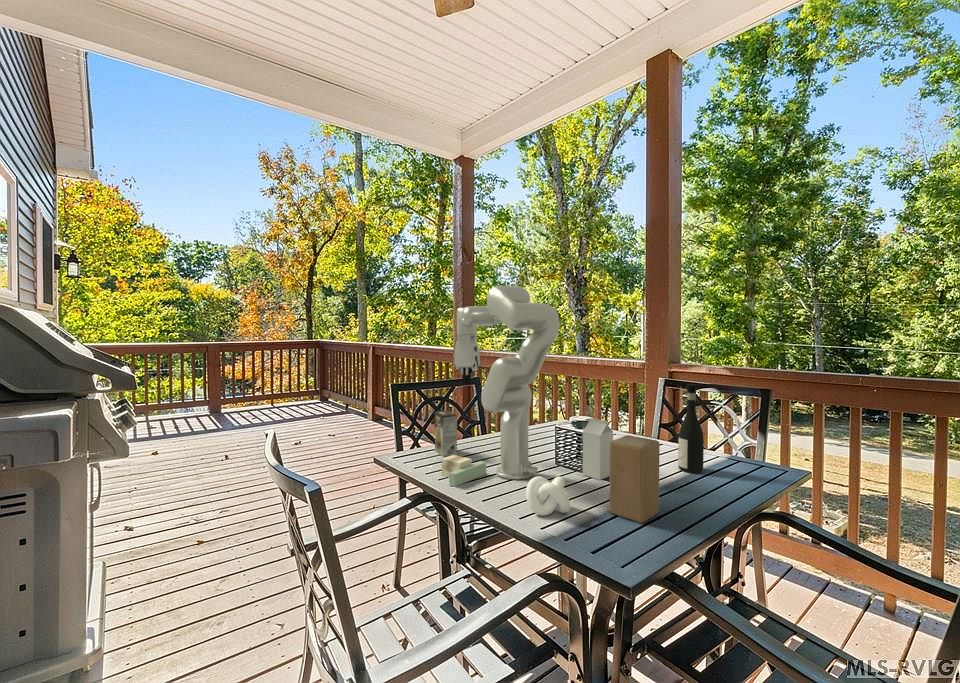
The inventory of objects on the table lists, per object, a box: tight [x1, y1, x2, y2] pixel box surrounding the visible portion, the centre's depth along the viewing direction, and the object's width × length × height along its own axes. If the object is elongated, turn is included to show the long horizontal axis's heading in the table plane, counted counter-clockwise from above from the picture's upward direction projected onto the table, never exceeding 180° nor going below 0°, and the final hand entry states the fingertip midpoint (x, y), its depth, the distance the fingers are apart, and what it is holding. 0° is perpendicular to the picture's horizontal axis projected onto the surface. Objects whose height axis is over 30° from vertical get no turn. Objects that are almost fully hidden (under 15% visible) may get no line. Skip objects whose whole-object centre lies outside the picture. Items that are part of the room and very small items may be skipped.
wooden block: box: [608, 434, 660, 524], centre depth 123 cm, size 10×10×20 cm
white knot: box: [525, 475, 571, 517], centre depth 126 cm, size 11×12×9 cm
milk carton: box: [582, 417, 614, 481], centre depth 155 cm, size 7×7×19 cm
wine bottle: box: [677, 383, 705, 474], centre depth 159 cm, size 8×8×30 cm
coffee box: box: [434, 410, 458, 457], centre depth 182 cm, size 9×6×16 cm
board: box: [448, 460, 487, 488], centre depth 152 cm, size 2×16×4 cm, turn 141°
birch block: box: [441, 455, 472, 479], centre depth 155 cm, size 8×6×6 cm
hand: (466, 384), depth 182 cm, fingers closed
